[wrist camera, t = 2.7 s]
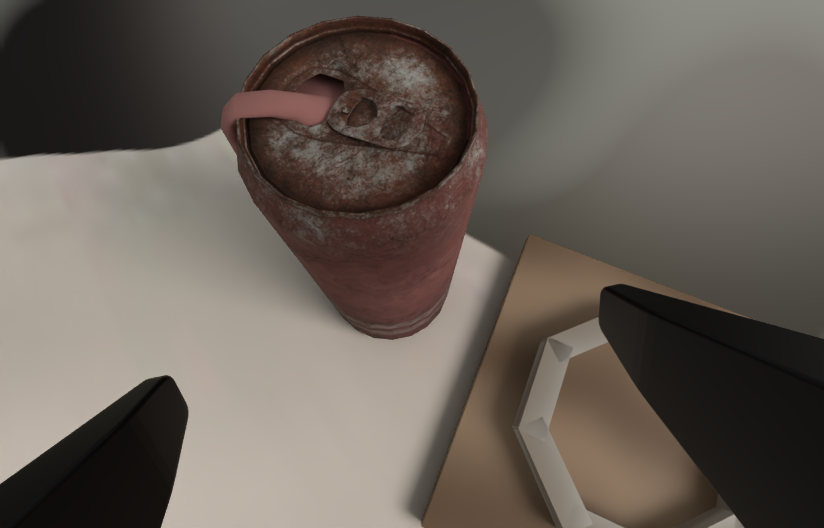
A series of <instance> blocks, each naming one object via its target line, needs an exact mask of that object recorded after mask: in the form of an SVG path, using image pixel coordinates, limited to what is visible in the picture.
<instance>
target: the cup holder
mask: <svg viewBox="0 0 824 528" xmlns="http://www.w3.org/2000/svg"><path fill="white" fill-rule="evenodd" d="M616 284H626V285H630V286H633V287H637V288H640V289H644V290H648V291H651V292H655V293H659V294H662V295H666V296H670V297H673V298H677V299H680V300H684V301H688V302H691V303H695V304H699V305H702V306H706V307H709V308H713V309H717V310H720V311H724V312H728V313H731V314H735V315H738V316H742V315H740V314H737V313H734V312H732V311H729V310H727V309H724V308H721V307H719V306H716V305H713V304H711V303H708V302H706V301H703V300H700V299H698V298H695V297H693V296H690V295H687V294H685V293H682V292H680V291H677V290H674V289H672V288H669V287H666V286H664V285H661V284H659V283H656V282H653V281H651V280H648V279H646V278H643V277H640V276H638V275H635V274H632V273H630V272H627V271H624V270H622V269H619V268H617V267H614V266H612V265H609V264H606V263H604V262H601V261H598V260H595V259H593V258H590V257H588V256H585V255H583V254H580V253H577V252H575V251H572V250H569V249H567V248H564V247H562V246H559V245H556V244H554V243H551V242H549V241H546V240H543V239H541V238H538V237H536V236H533V235H529V236H528V238H527V239H526V241H525V244H524V247H523V250H522V252H521V255H520V258H519V260H518V263H517V266H516V268H515V271H514V274H513V276H512V279H511V282H510V284H509V287H508V290H507V292H506V295H505V298H504V301H503V303H502V306H501V309H500V311H499V314H498V317H497V319H496V322H495V325H494V327H493V330H492V333H491V335H490V338H489V341H488V344H487V346H486V349H485V352H484V354H483V357H482V360H481V362H480V365H479V368H478V370H477V373H476V376H475V378H474V381H473V384H472V387H471V389H470V392H469V395H468V397H467V400H466V403H465V405H464V408H463V411H462V413H461V416H460V419H459V421H458V424H457V427H456V430H455V432H454V435H453V438H452V440H451V443H450V446H449V448H448V451H447V454H446V456H445V459H444V462H443V464H442V467H441V470H440V473H439V475H438V478H437V481H436V483H435V486H434V489H433V491H432V494H431V497H430V499H429V502H428V505H427V508H426V510H425V513H424V516H423V518H422V521H421V524H422V527H424V528H744V527H743V525H742V524H741V523H740V522H739V520H738V519H737V518H736V516H735V515H734V514H733V512H732V511H731V510H730V509H729V507H728V506H727V505H726V503H725V502H724V501H723V499H722V498H721V497H720V496H719V494H718V493H717V492H716V490H715V489H714V488H713V487H712V485H711V484H710V483H709V481H708V480H707V479H706V477H705V476H704V475H703V474H702V472H701V471H700V470H699V468H698V467H697V466H696V464H695V463H694V462H693V461H692V459H691V458H690V457H689V455H688V454H687V453H686V452H685V450H684V449H683V448H682V446H681V445H680V444H679V442H678V441H677V440H676V439H675V437H674V436H673V435H672V433H671V432H670V431H669V429H668V428H667V427H666V426H665V424H664V423H663V422H662V420H661V419H660V418H659V417H658V415H657V414H656V413H655V411H654V410H653V409H652V407H651V406H650V405H649V404H648V402H647V401H646V400H645V398H644V397H643V396H642V394H641V393H640V392H639V390H638V389H637V387H636V386H635V384H634V383H633V381H632V380H631V378H630V376H629V375H628V373H627V372H626V370H625V368H624V367H623V365H622V363H621V362H620V360H619V359H618V357H617V355H616V354H615V352H614V350H613V349H612V347H611V346H610V344H609V342H608V341H607V339H606V337H605V336H604V334H603V333H602V331H601V329H600V326H599V321H598V317H599V303H600V292H601V290H602V289H603V288H604V287H606V286H611V285H616ZM742 317H745V316H742ZM746 318H748V317H746ZM749 319H750V318H749Z"/></svg>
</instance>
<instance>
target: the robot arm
mask: <svg viewBox="0 0 824 528" xmlns="http://www.w3.org/2000/svg"><path fill="white" fill-rule="evenodd" d="M598 321H599V326H600V329H601V331H602V333H603V334H604V336H605V337H606V339H607V341H608V342H609V344H610V346H611V347H612V349H613V350H614V352H615V354H616V355H617V357H618V359H619V360H620V362H621V363H622V365H623V367H624V368H625V370H626V372H627V373H628V375H629V376H630V378H631V380H632V381H633V383H634V384H635V386H636V387H637V389H638V390H639V392H640V393H641V394H642V396H643V397H644V398H645V400H646V401H647V402H648V404H649V405H650V406H651V407H652V409H653V410H654V411H655V413H656V414H657V415H658V417H659V418H660V419H661V420H662V422H663V423H664V424H665V426H666V427H667V428H668V429H669V431H670V432H671V433H672V435H673V436H674V437H675V439H676V440H677V441H678V442H679V444H680V445H681V446H682V448H683V449H684V450H685V452H686V453H687V454H688V455H689V457H690V458H691V459H692V461H693V462H694V463H695V464H696V466H697V467H698V468H699V470H700V471H701V472H702V474H703V475H704V476H705V477H706V479H707V480H708V481H709V483H710V484H711V485H712V487H713V488H714V489H715V490H716V492H717V493H718V494H719V496H720V497H721V498H722V499H723V501H724V502H725V503H726V505H727V506H728V507H729V509H730V510H731V511H732V512H733V514H734V515H735V516H736V518H737V519H738V520H739V522H740V523H741V524H742V525H743V527H744V528H824V339H822V338H818V337H814V336H811V335H807V334H804V333H800V332H796V331H793V330H789V329H786V328H782V327H778V326H775V325H771V324H767V323H764V322H760V321H756V320H753V319H749V318H746V317H742V316H738V315H735V314H731V313H728V312H724V311H720V310H717V309H713V308H709V307H706V306H702V305H699V304H695V303H691V302H688V301H684V300H680V299H677V298H673V297H670V296H666V295H662V294H659V293H655V292H651V291H648V290H644V289H640V288H637V287H633V286H630V285H626V284H616V285H611V286H606V287H604V288H603V289H602V290H601V292H600V303H599V317H598ZM187 421H188V407H187V404H186V402H185V400H184V398H183V396H182V394H181V392H180V390H179V388H178V386H177V385H176V383H175V381H174V379H173V378H172V377H170V376H167V375H165V376H160V377H155V378H150V379H147V380H145V381H143V382H142V383H140V384H139V385H138V386H136V387H135V388H133V389H132V390H131V391H129V392H128V393H127V394H125V395H124V396H122V397H121V398H120V399H118V400H117V401H115V402H114V403H113V404H111V405H110V406H108V407H107V408H106V409H104V410H103V411H101V412H100V413H99V414H97V415H96V416H94V417H93V418H92V419H90V420H89V421H87V422H86V423H85V424H83V425H82V426H81V427H79V428H78V429H76V430H75V431H74V432H72V433H71V434H69V435H68V436H67V437H65V438H64V439H62V440H61V441H60V442H58V443H57V444H55V445H54V446H53V447H51V448H50V449H48V450H47V451H46V452H44V453H43V454H41V455H40V456H39V457H37V458H36V459H35V460H33V461H32V462H30V463H29V464H28V465H26V466H25V467H23V468H22V469H21V470H19V471H18V472H16V473H15V474H14V475H12V476H11V477H9V478H8V479H7V480H5V481H4V482H2V483H1V484H0V528H161V525H162V522H163V519H164V516H165V513H166V510H167V507H168V503H169V500H170V497H171V493H172V490H173V486H174V482H175V477H176V473H177V468H178V463H179V458H180V454H181V449H182V444H183V439H184V435H185V430H186V425H187Z"/></svg>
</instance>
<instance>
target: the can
mask: <svg viewBox="0 0 824 528" xmlns="http://www.w3.org/2000/svg"><path fill="white" fill-rule="evenodd" d="M221 129H222V131H223V133H224V134H225V136H226V138H227V139H228V141H229V143H230V144H231V146H232V148H233V150H234V151H235V153H236V155H237V162H238V171H239V173H240V175H241V177H242V179H243V181H244V183H245V185H246V187H247V189H248V191H249V193H250V195H251V197H252V199H253V201H254V203H255V204H256V206H257V207H258V208H259V210H260V211H261V212H262V213H263V215H264V216H265V217H266V219H267V220H268V221H269V222H270V224H271V225H272V226H273V228H274V229H275V230H276V231H277V233H278V234H279V235H280V237H281V238H282V239H283V240H284V242H285V243H286V244H287V246H288V247H289V248H290V249H291V251H292V252H293V253H294V255H295V256H296V257H297V258H298V260H299V261H300V262H301V264H302V265H303V266H304V267H305V269H306V270H307V271H308V273H309V274H310V275H311V276H312V278H313V279H314V280H315V282H316V283H317V284H318V286H319V287H320V288H321V289H322V291H323V292H324V293H325V295H326V296H327V297H328V298H329V300H330V301H331V302H332V304H333V305H334V306H335V307H336V309H337V310H338V311H339V313H340V314H341V315H342V316H343V318H344V319H345V320H347V321H348V322H349V323H350V324H351V325H352V326H353V327H354V328H355V329H356V330H358V331H360V332H362V333H364V334H367V335H369V336H371V337H373V338H381V339H391V340H394V339H398V338H403V337H408V336H412V335H413V334H415V333H417V332H418V331H420V330H422V329H424V328H425V327H427V326H428V325H429V324H430V323H431V322H432V321H433V320H434V318H435V317H436V316H437V315H438V314H439V313H440V311H441V308H442V306H443V304H444V301H445V299H446V297H447V294H448V290H449V287H450V283H451V280H452V276H453V273H454V270H455V266H456V263H457V259H458V256H459V252H460V249H461V245H462V242H463V238H464V235H465V232H466V228H467V225H468V221H469V218H470V214H471V211H472V207H473V204H474V200H475V197H476V193H477V190H478V187H479V183H480V180H481V176H482V173H483V169H484V166H485V162H486V158H487V138H488V124H487V121H486V118H485V114H484V112H483V108H482V105H481V103H480V100H479V96H478V94H477V92H476V89H475V86H474V83H473V80H472V77H471V74H470V71H469V70H468V68H467V67H466V66H465V65H464V63H463V62H462V61H461V60H460V58H459V57H458V56H457V55H456V54H455V52H454V51H453V50H452V48H451V47H449V46H448V45H447V44H445V43H443V42H442V41H441V40H439V39H438V38H436V37H435V36H433V35H432V34H430V33H429V32H427V31H426V30H424V29H422V28H419V27H416V26H413V25H410V24H407V23H403V22H401V21H397V20H395V19H391V18H379V17H364V16H353V17H347V18H340V19H334V20H328V21H322V22H320V23H317V24H315V25H312V26H310V27H308V28H305V29H303V30H300V31H298V32H296V33H293V34H291V35H289V36H288V37H287V38H285V39H284V40H283V41H281V42H280V43H279V44H277V45H276V46H275V47H273V48H272V49H271V50H270V51H268V52H267V53H266V54H264V55H263V56H262V58H261V59H260V60H259V62H258V63H257V65H256V66H255V67H254V69H253V70H252V71H251V73H250V74H249V75H248V77H247V78H246V80H245V81H244V84H243V87H242V90H241V92H240V93H236V94H235V95H234V96H233V97H232V98H231V99H230V101H229V102H228V103H227V104H226V105H225V106H224V108H223V111H222V120H221Z"/></svg>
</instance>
